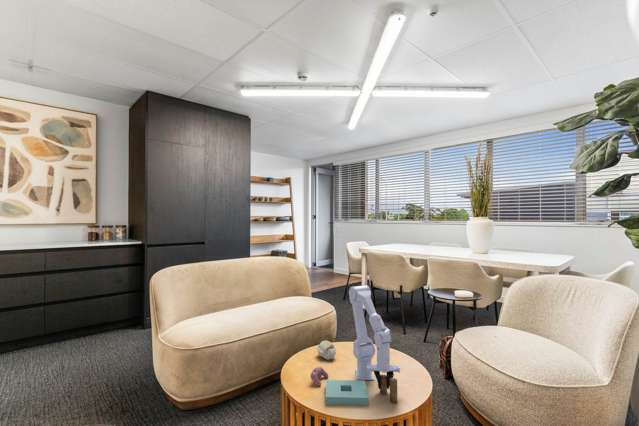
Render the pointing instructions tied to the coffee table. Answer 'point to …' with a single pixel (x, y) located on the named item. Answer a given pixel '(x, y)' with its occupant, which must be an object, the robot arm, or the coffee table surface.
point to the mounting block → (346, 392)
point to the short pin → (383, 384)
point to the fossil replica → (326, 350)
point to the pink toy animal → (318, 375)
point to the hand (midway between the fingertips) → (383, 387)
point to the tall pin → (393, 390)
